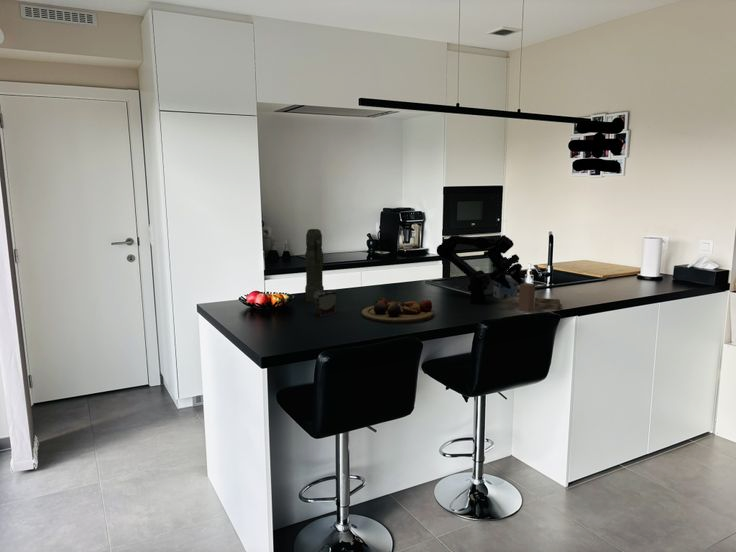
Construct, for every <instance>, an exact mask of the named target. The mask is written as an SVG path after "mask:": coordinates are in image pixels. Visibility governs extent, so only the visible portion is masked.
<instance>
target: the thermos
mask: <svg viewBox="0 0 736 552" xmlns="http://www.w3.org/2000/svg"><path fill="white" fill-rule="evenodd" d="M305 243H306V244H305V246H306V248H305V249H306V250H305V254H304V266H305V275H306V277H305V278H306V280H305V281H306V282H305V284H306V285H305V287H304V289H305V290H304V293H305V294H304V295H305V302H306V303H311V304H312V303H313V304H316V301H315V298H314V293H315V292H316V291H319V290H325V289H324V288H325V287H324V285H323V266H324V253H323V248H322V247H323V235H322V232H321V230H320V229H319V228H309V229H307V231H306V235H305Z"/></svg>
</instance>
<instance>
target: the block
mask: <svg viewBox="0 0 736 552" xmlns="http://www.w3.org/2000/svg"><path fill="white" fill-rule="evenodd" d="M522 283H523V282H522ZM518 289H519V290H518V305H517V306H518V307H517V308H518V310H520V311H525V312H530V311H533V310H534V309H535V298H536V297H535V293H536V283H535V284H534V283H528V282H524V283H523V284H519V286H518Z"/></svg>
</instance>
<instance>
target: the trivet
mask: <svg viewBox="0 0 736 552" xmlns="http://www.w3.org/2000/svg"><path fill="white" fill-rule="evenodd" d="M513 311H514V312H515V313H519V314H526V313H534V314H537V313H536V312H538V313H539V309H535V308H534V310H533V311H530V312H525V311H520V310H518V307H514V308H513Z"/></svg>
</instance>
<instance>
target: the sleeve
mask: <svg viewBox="0 0 736 552" xmlns="http://www.w3.org/2000/svg"><path fill="white" fill-rule="evenodd" d="M534 309H536V310H547V311H549V310H550V311H561V300H560V299H559V298H558V299H557V298H545V297H544V298H543V297H541V298H540V297H535V298H534Z"/></svg>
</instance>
